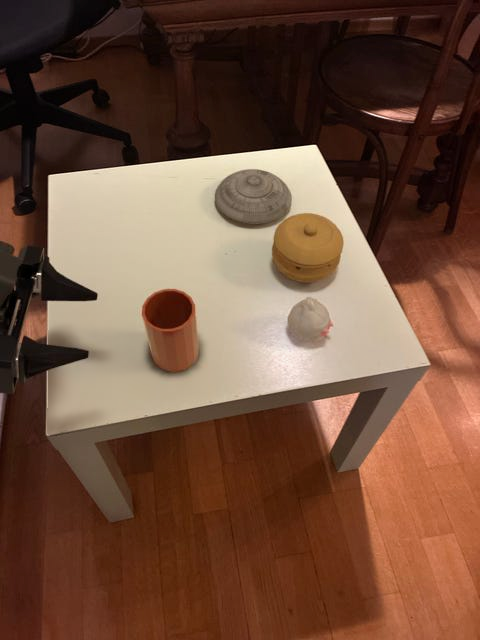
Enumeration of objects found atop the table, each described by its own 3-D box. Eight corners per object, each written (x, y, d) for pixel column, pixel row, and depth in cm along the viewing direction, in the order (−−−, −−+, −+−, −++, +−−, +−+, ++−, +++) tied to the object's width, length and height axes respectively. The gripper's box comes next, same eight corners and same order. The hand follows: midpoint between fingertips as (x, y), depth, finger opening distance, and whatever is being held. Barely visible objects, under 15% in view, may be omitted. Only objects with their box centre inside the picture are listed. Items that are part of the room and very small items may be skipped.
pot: (343, 253, 88) (355, 211, 80) (326, 300, 81) (337, 260, 73) (282, 235, 90) (288, 193, 82) (260, 280, 84) (264, 239, 76)
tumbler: (150, 372, 73) (139, 331, 64) (153, 332, 77) (143, 289, 68) (198, 371, 73) (194, 330, 64) (198, 331, 77) (195, 288, 68)
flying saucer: (252, 168, 101) (253, 145, 97) (306, 203, 95) (310, 181, 91) (198, 200, 95) (197, 178, 91) (253, 241, 89) (254, 218, 85)
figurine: (318, 357, 75) (326, 328, 69) (278, 337, 77) (283, 306, 71) (335, 327, 78) (345, 297, 72) (297, 309, 80) (304, 277, 74)
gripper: (-90, 325, 44) (88, 346, 48) (-32, 199, 56) (107, 225, 60) (-71, 389, 52) (81, 402, 56) (-23, 268, 64) (99, 286, 68)
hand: (93, 324), depth 60 cm, fingers open, 9 cm apart
